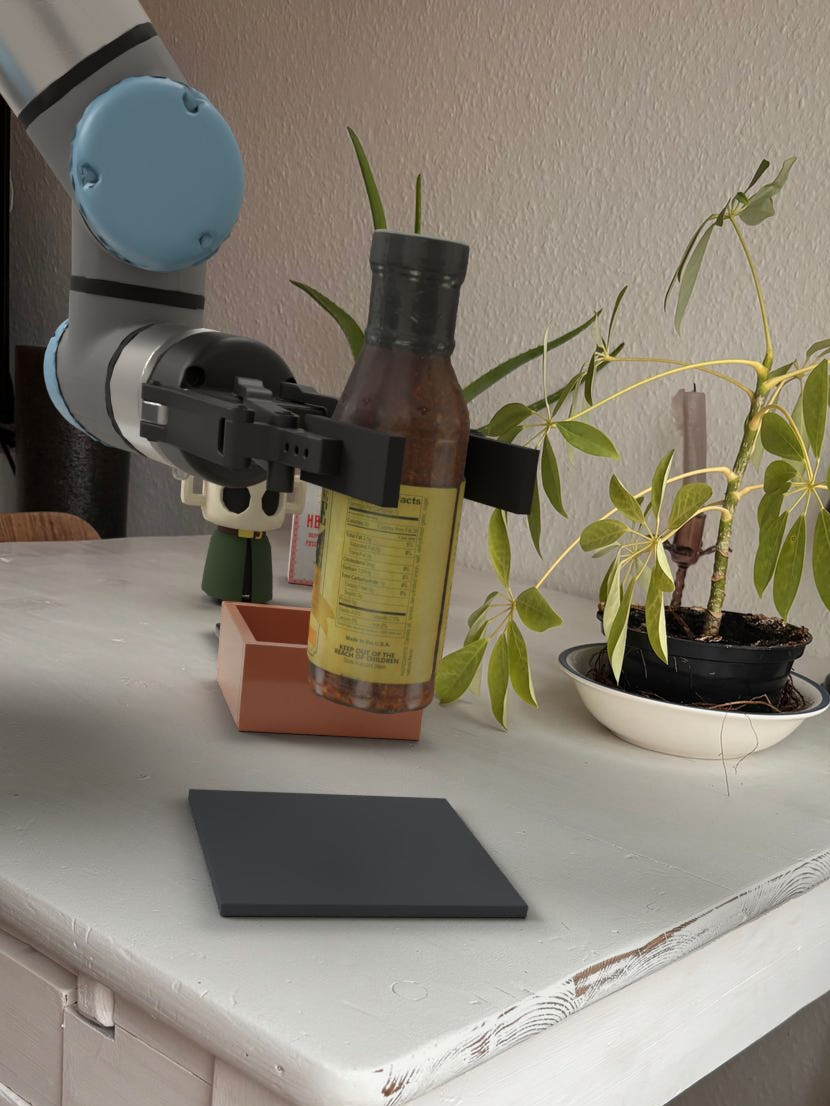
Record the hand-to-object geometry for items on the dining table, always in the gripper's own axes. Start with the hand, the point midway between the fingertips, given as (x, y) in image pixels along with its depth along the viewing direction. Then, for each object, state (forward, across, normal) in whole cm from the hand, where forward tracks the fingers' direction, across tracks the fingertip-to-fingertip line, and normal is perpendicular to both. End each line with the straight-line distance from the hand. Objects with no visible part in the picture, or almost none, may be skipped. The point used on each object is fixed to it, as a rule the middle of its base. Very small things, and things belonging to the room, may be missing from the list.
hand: (463, 477), depth 53 cm
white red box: (-66, -35, -19) cm, 77 cm away
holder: (-28, -11, -19) cm, 35 cm away
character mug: (-58, -21, -19) cm, 65 cm away
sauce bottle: (-5, 0, -11) cm, 12 cm away
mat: (-5, 0, -19) cm, 20 cm away
